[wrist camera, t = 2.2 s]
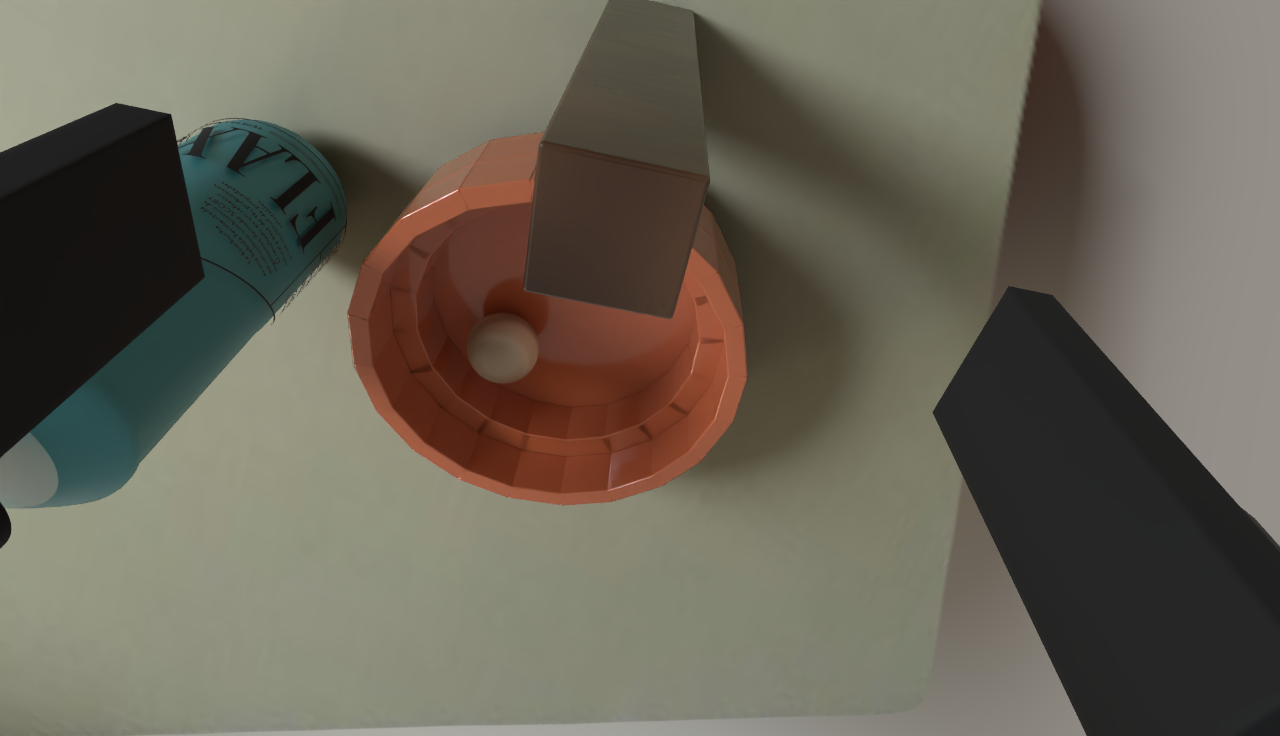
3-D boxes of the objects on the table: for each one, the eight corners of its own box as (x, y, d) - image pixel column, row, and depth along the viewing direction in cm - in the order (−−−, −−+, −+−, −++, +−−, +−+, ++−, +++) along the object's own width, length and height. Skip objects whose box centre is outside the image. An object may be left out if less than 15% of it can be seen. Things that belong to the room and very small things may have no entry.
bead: (520, 288, 31) (506, 328, 28) (556, 341, 32) (546, 383, 30) (462, 314, 32) (443, 354, 29) (501, 364, 33) (486, 406, 31)
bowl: (642, 53, 25) (634, 99, 21) (784, 359, 33) (801, 443, 29) (327, 220, 30) (261, 289, 25) (518, 453, 38) (495, 539, 33)
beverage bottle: (398, 193, 29) (57, 602, 13) (305, 274, 32) (-73, 695, 16) (267, 64, 26) (-376, 387, 10) (177, 164, 29) (-448, 546, 13)
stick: (598, 78, 26) (521, 292, 13) (612, -9, 24) (538, 141, 11) (675, 95, 26) (672, 321, 13) (694, 10, 24) (711, 178, 12)
